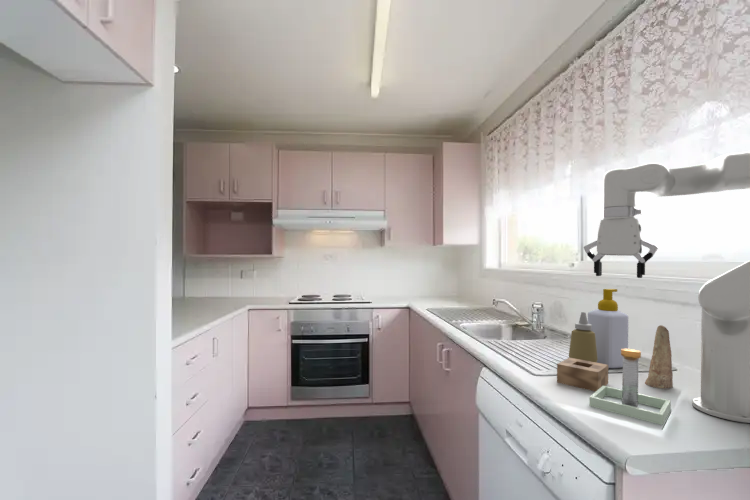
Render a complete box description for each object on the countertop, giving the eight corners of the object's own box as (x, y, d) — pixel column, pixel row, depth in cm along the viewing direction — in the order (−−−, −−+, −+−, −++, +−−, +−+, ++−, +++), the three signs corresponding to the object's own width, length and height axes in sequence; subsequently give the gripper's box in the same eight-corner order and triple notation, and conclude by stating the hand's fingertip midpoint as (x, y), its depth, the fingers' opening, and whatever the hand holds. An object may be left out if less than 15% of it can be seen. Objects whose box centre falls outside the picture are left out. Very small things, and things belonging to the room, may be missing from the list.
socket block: (608, 386, 104) (608, 364, 104) (597, 395, 97) (598, 372, 97) (569, 378, 111) (569, 357, 111) (556, 385, 104) (557, 363, 104)
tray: (670, 413, 86) (670, 400, 86) (662, 429, 78) (662, 415, 78) (602, 397, 96) (603, 385, 96) (589, 409, 88) (589, 396, 88)
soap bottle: (629, 367, 123) (630, 290, 123) (608, 369, 120) (609, 290, 121) (605, 360, 132) (606, 288, 132) (585, 361, 129) (586, 288, 129)
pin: (629, 404, 89) (630, 348, 89) (644, 410, 86) (645, 352, 86) (615, 405, 89) (616, 348, 89) (630, 412, 85) (631, 353, 85)
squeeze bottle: (568, 370, 119) (569, 313, 119) (568, 364, 126) (569, 310, 126) (598, 374, 115) (598, 315, 115) (596, 367, 122) (597, 312, 122)
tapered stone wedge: (644, 391, 103) (672, 397, 99) (646, 327, 101) (676, 331, 97) (645, 382, 108) (672, 387, 104) (647, 321, 106) (675, 324, 102)
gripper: (660, 213, 101) (659, 278, 100) (588, 217, 113) (587, 275, 112) (655, 211, 95) (654, 279, 95) (580, 215, 107) (579, 275, 107)
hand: (618, 276), depth 104 cm, fingers open, 9 cm apart
